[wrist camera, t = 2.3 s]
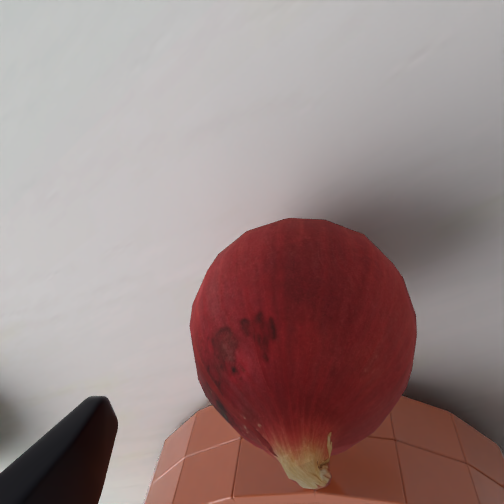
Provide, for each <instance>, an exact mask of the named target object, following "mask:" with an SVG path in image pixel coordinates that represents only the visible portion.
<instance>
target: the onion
mask: <svg viewBox="0 0 504 504" xmlns="http://www.w3.org/2000/svg"><path fill="white" fill-rule="evenodd" d="M190 331H191V338H192V345H193V351H194V357H195V363H196V368H197V374H198V380H199V382H200V384H201V386H202V389H203V391H204V393H205V395H206V397H207V398H208V400H209V401H210V402H211V404H212V405H213V406H214V408H215V409H216V410H217V411H218V412H219V413H220V415H221V416H222V417H223V418H224V419H225V420H226V421H227V422H228V423H229V424H230V425H231V426H232V427H233V428H234V429H235V430H236V431H237V432H238V433H239V434H240V435H241V436H242V437H243V438H244V439H245V440H247V441H248V442H250V443H251V444H253V445H254V446H256V447H258V448H260V449H263V450H264V451H265V452H266V453H268V454H269V455H271V456H272V457H273V458H275V459H276V460H278V461H279V462H280V463H281V465H282V467H283V469H284V471H285V472H286V474H287V476H288V478H289V479H291V480H292V481H293V482H295V483H296V484H298V485H300V486H301V487H303V488H307V489H320V488H324V487H327V486H328V485H329V484H330V481H331V478H332V476H331V472H330V456H332V455H337V454H340V453H342V452H345V451H346V450H348V449H349V448H351V447H352V446H354V445H355V444H357V443H359V442H360V441H362V440H363V439H365V438H366V437H368V436H369V435H371V434H372V433H374V432H375V430H376V429H377V428H378V427H379V426H380V425H381V424H382V423H383V421H384V420H385V419H386V417H387V416H388V414H389V413H390V412H391V410H392V409H393V408H394V406H395V405H396V403H397V402H398V401H399V399H400V397H401V396H402V394H403V392H404V391H405V389H406V388H407V385H408V381H409V378H410V375H411V372H412V366H413V359H414V352H415V345H416V338H417V329H416V314H415V311H414V308H413V305H412V302H411V300H410V297H409V294H408V291H407V288H406V285H405V282H404V280H403V277H402V276H401V274H400V273H399V271H398V270H397V269H396V267H395V266H394V264H393V263H392V262H391V261H390V260H389V259H388V258H387V257H386V256H385V255H384V254H383V253H382V252H381V251H380V250H379V249H378V248H377V247H376V246H375V245H374V244H373V243H372V242H371V241H370V240H369V239H368V238H367V237H366V236H365V235H364V234H361V233H359V232H356V231H353V230H351V229H348V228H345V227H343V226H340V225H337V224H335V223H332V222H329V221H327V220H320V219H299V218H288V219H283V220H280V221H277V222H274V223H271V224H267V225H264V226H261V227H258V228H255V229H252V230H249V231H246V232H245V233H244V234H243V235H241V236H240V237H239V238H238V239H237V240H235V241H234V242H233V243H232V244H230V245H229V246H228V247H227V248H226V249H224V250H223V251H222V252H221V253H219V254H218V256H217V257H216V259H215V260H214V262H213V263H212V265H211V266H210V268H209V269H208V270H207V273H206V275H205V277H204V280H203V282H202V284H201V286H200V289H199V291H198V293H197V295H196V298H195V300H194V302H193V305H192V312H191V320H190Z"/></svg>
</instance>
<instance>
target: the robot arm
mask: <svg viewBox="0 0 504 504" xmlns="http://www.w3.org/2000/svg"><path fill="white" fill-rule="evenodd" d="M117 429H118V420H117V417H116V415H115V413H114V410H113V408H112V406H111V404H110V401H109V399H108V398H107V397H105V396H91V397H88V398H87V399H85V400H84V401H83V402H82V403H81V404H80V405H78V406H77V407H76V408H75V409H74V410H73V411H72V412H70V413H69V414H68V415H67V416H66V417H65V418H64V419H62V420H61V421H60V422H59V423H58V424H57V425H55V426H54V427H53V428H52V429H51V430H50V431H49V432H47V433H46V434H45V435H44V436H43V437H42V438H40V439H39V440H38V441H37V442H36V443H35V444H34V445H32V446H31V447H30V448H29V449H28V450H27V451H26V452H24V453H23V454H22V455H21V456H20V457H19V458H17V459H16V460H15V461H14V462H13V463H12V464H11V465H9V466H8V467H7V468H6V469H5V470H4V471H2V472H1V473H0V504H98V502H99V499H100V496H101V492H102V489H103V485H104V481H105V477H106V473H107V469H108V465H109V461H110V457H111V453H112V449H113V445H114V441H115V437H116V433H117Z"/></svg>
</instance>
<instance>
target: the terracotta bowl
mask: <svg viewBox="0 0 504 504" xmlns="http://www.w3.org/2000/svg"><path fill="white" fill-rule="evenodd" d="M330 472H331V476H332V478H331V481H330V484H329V485H328V486H327V487H324V488H320V489H307V488H303V487H301V486H300V485H298V484H296V483H295V482H293V481H292V480H291V479H289V478H288V476H287V474H286V472H285V471H284V469H283V467H282V465H281V463H280V462H279V461H278V460H276V459H275V458H273V457H272V456H271V455H269V454H268V453H266V452H265V451H264V450H263V449H260V448H258V447H256V446H254V445H253V444H251V443H250V442H248V441H247V440H245V439H244V438H243V437H242V436H241V435H240V434H239V433H238V432H237V431H236V430H235V429H234V428H233V427H232V426H231V425H230V424H229V423H228V422H227V421H226V420H225V419H224V418H223V417H222V416H221V415H220V413H219V412H218V411H217V410H216V409H215V408H214V406H213V405H211V406H208V407H206V408H203V409H201V410H199V411H198V412H196V413H195V414H194V415H193V416H192V417H191V418H189V419H188V420H187V421H186V422H185V423H184V424H183V425H182V426H180V427H179V428H178V429H177V430H176V431H175V432H174V433H173V434H171V435H170V436H169V437H168V438H167V439H166V440H165V442H164V445H163V448H162V450H161V453H160V456H159V458H158V461H157V463H156V466H155V469H154V472H153V475H152V478H151V481H150V484H149V487H148V490H147V493H146V496H145V499H144V502H143V504H504V453H503V452H502V450H501V449H500V447H499V446H498V445H497V444H496V443H495V442H493V441H492V440H490V439H489V438H488V437H486V436H485V435H483V434H482V433H480V432H479V431H477V430H476V429H475V428H473V427H472V426H470V425H469V424H467V423H466V422H464V421H463V420H461V419H460V418H459V417H457V416H456V415H454V414H453V413H450V412H449V411H446V410H444V409H441V408H438V407H435V406H432V405H429V404H426V403H423V402H420V401H417V400H414V399H411V398H408V397H405V396H401V397H400V399H399V401H398V402H397V403H396V405H395V406H394V408H393V409H392V410H391V412H390V413H389V414H388V416H387V417H386V419H385V420H384V421H383V423H382V424H381V425H380V426H379V427H378V428H377V429H376V430H375V432H374V433H372V434H371V435H369V436H368V437H366V438H365V439H363V440H362V441H360V442H359V443H357V444H355V445H354V446H352V447H351V448H349V449H348V450H346V451H345V452H342V453H340V454H337V455H332V456H330Z"/></svg>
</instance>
